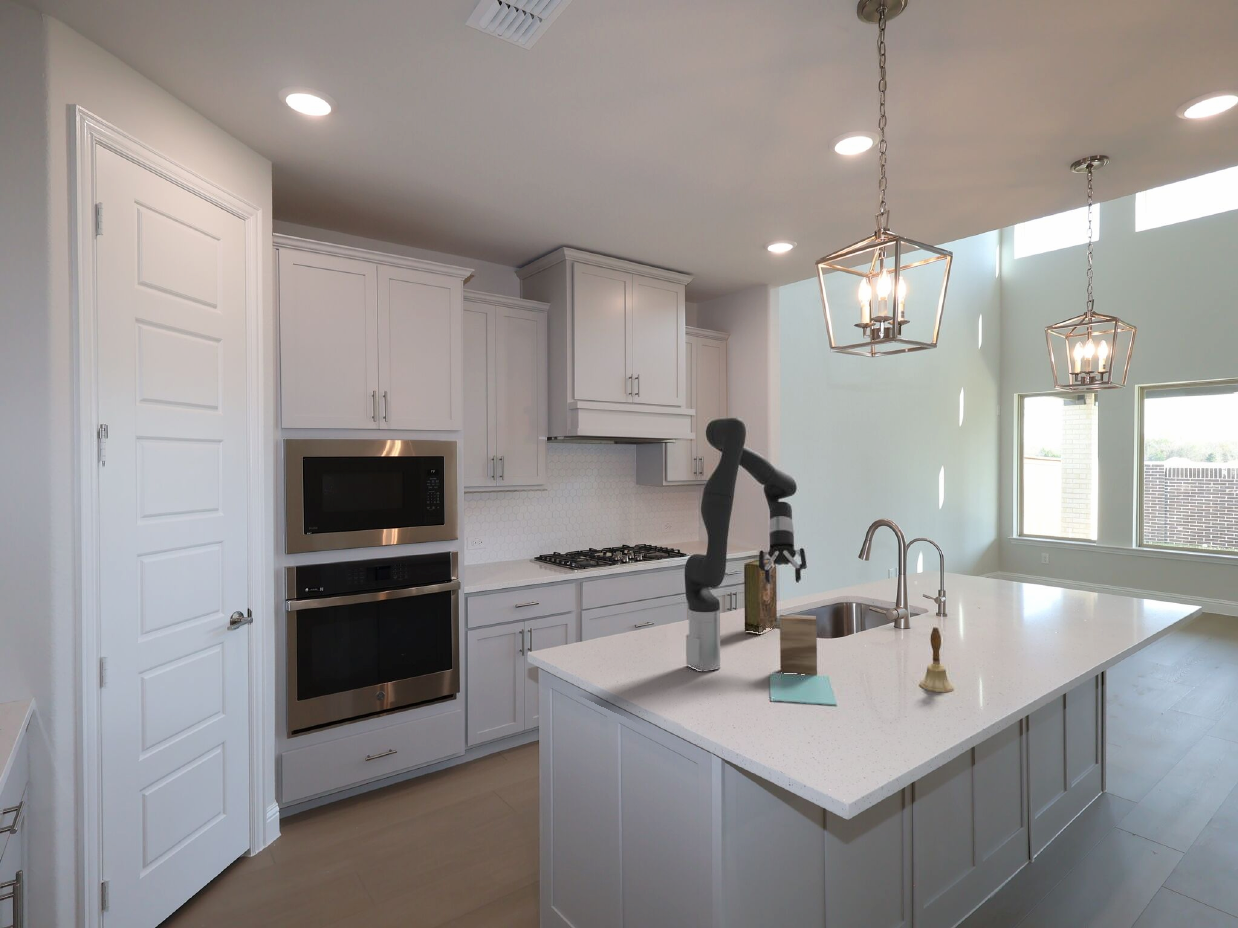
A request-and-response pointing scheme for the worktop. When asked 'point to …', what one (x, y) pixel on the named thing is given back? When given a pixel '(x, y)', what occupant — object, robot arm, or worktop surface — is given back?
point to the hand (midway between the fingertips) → (783, 582)
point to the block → (798, 644)
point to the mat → (801, 689)
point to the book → (759, 598)
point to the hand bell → (936, 668)
